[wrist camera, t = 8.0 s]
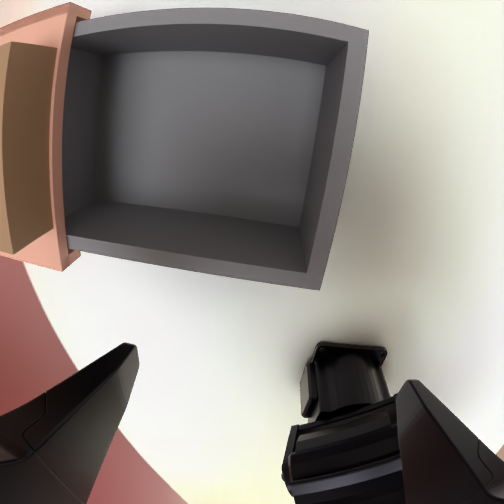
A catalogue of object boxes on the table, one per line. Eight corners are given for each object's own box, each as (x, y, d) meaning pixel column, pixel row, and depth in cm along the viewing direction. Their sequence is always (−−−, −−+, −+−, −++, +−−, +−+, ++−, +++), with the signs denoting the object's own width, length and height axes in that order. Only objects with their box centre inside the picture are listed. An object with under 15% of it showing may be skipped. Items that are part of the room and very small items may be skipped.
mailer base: (338, 59, 16) (368, 30, 9) (307, 236, 21) (319, 290, 14) (101, 48, 16) (38, 32, 10) (92, 206, 21) (35, 241, 15)
